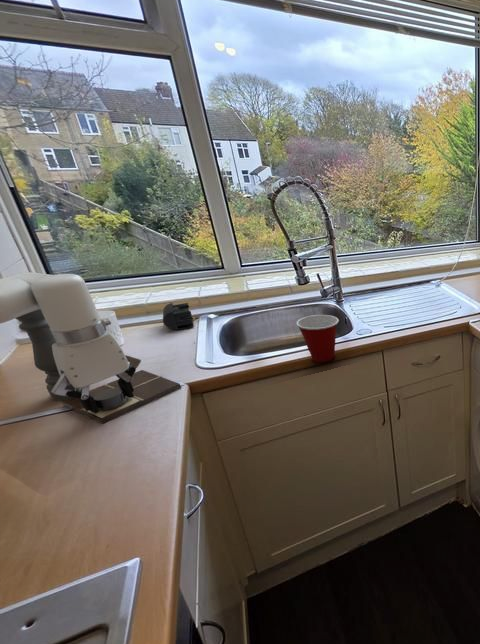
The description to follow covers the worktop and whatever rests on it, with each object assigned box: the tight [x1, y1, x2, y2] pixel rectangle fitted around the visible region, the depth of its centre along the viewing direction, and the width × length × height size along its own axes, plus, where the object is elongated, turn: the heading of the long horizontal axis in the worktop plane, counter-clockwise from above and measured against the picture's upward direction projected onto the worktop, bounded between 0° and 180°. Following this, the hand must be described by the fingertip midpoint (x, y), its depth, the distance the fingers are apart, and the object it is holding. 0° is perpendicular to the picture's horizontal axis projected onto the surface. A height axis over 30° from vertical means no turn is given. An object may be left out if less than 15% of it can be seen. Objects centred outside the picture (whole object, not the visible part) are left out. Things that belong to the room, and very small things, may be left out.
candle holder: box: [15, 309, 75, 402], centre depth 94 cm, size 6×6×25 cm
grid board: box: [61, 369, 182, 425], centre depth 98 cm, size 16×16×1 cm
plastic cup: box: [296, 314, 340, 363], centre depth 116 cm, size 11×11×12 cm
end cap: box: [162, 302, 195, 331], centre depth 135 cm, size 10×7×7 cm
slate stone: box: [93, 388, 127, 411], centre depth 93 cm, size 5×5×3 cm
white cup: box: [97, 309, 125, 347], centre depth 120 cm, size 8×8×10 cm
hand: (111, 402), depth 93 cm, fingers open, 5 cm apart
